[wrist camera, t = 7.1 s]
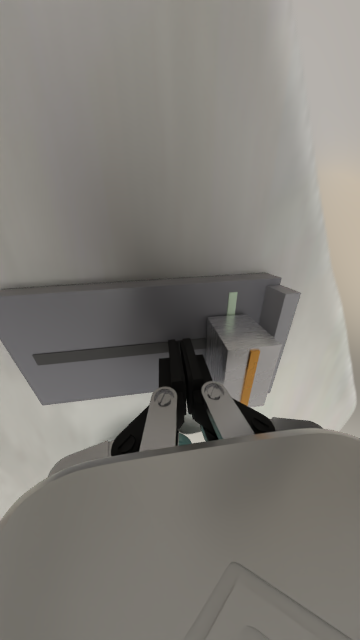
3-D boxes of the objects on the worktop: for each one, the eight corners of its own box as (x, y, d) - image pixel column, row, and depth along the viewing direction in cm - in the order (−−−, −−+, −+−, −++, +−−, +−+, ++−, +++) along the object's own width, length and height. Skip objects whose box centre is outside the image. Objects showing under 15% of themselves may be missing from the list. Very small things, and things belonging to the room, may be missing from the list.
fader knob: (207, 317, 12) (228, 351, 8) (246, 314, 12) (283, 345, 9) (205, 368, 14) (221, 412, 11) (238, 364, 15) (264, 406, 11)
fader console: (1, 289, 12) (-67, 311, 8) (265, 272, 13) (303, 285, 10) (55, 387, 16) (26, 428, 13) (247, 365, 18) (268, 396, 14)
